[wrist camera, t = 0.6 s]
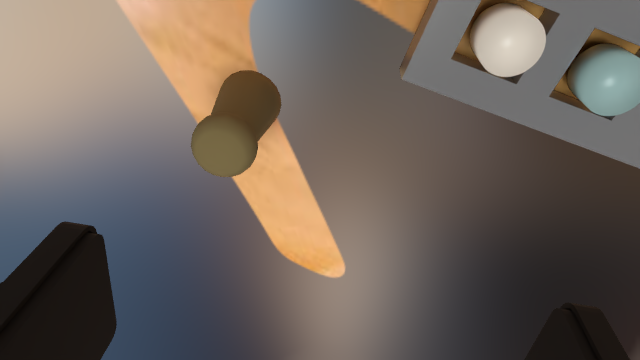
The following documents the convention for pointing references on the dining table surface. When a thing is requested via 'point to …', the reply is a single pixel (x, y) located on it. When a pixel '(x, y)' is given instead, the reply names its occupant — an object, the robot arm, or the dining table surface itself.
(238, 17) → the dining table surface
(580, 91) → the teal button
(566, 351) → the robot arm
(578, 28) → the console
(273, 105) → the cork
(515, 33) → the ivory button
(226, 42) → the dining table surface
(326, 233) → the dining table surface
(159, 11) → the dining table surface
